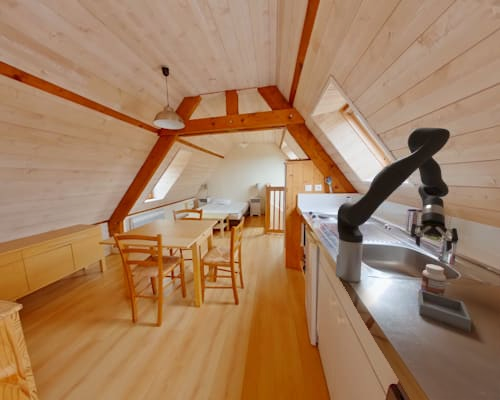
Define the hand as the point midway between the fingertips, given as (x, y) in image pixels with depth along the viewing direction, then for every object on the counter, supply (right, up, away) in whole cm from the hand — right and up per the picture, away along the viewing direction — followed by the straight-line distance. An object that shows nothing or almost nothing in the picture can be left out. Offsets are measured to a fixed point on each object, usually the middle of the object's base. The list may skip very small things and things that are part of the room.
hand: (432, 248), depth 76 cm
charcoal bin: (-14, -17, -17) cm, 27 cm away
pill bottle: (-7, -16, -7) cm, 19 cm away
